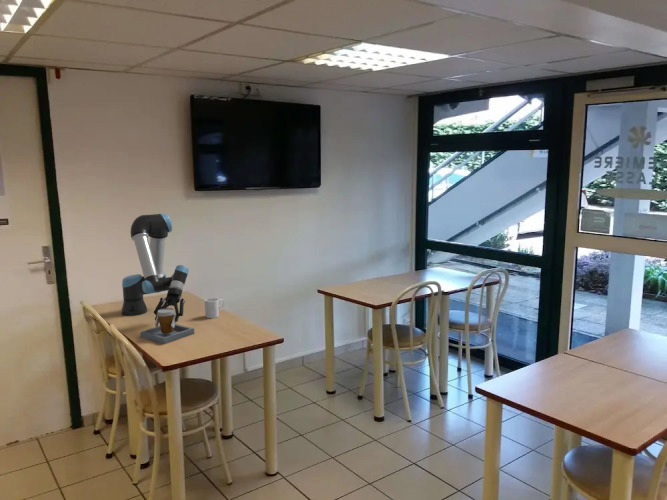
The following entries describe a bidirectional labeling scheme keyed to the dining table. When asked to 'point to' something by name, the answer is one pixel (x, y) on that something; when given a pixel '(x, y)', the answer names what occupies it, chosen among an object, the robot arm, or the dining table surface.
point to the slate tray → (167, 334)
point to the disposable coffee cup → (166, 319)
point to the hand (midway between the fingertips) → (164, 326)
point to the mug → (212, 307)
